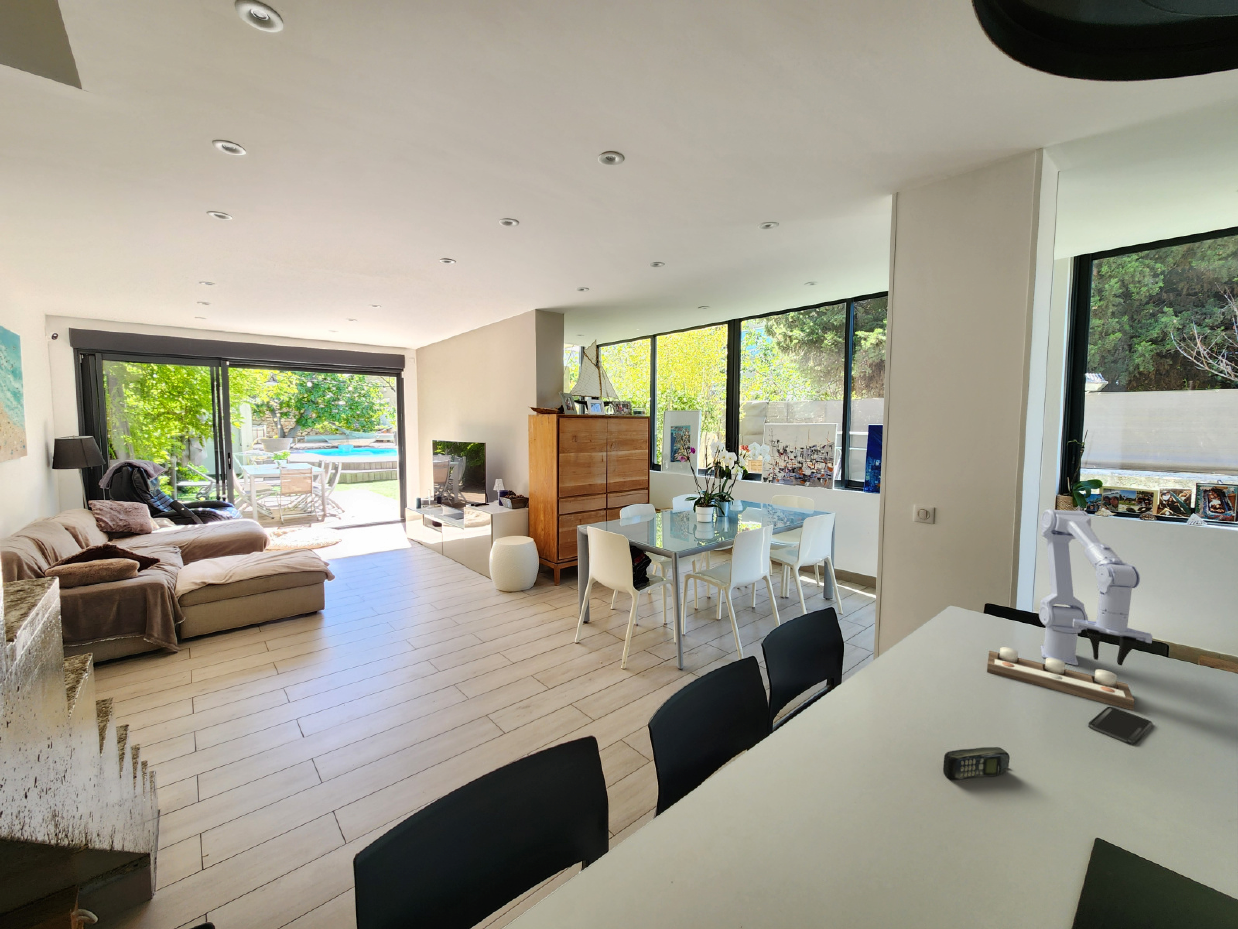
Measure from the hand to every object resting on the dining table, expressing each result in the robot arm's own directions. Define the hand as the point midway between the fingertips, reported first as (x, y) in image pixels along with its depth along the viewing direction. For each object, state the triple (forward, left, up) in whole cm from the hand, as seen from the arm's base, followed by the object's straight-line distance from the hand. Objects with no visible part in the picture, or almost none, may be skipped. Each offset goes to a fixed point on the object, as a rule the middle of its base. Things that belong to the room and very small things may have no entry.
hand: (1107, 661), depth 131 cm
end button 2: (0, -20, -6) cm, 21 cm away
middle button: (0, -10, -6) cm, 12 cm away
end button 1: (0, 0, -6) cm, 6 cm away
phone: (+18, +1, -9) cm, 20 cm away
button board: (+2, -10, -8) cm, 13 cm away
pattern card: (+5, -10, -6) cm, 13 cm away
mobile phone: (+58, -24, -9) cm, 64 cm away
